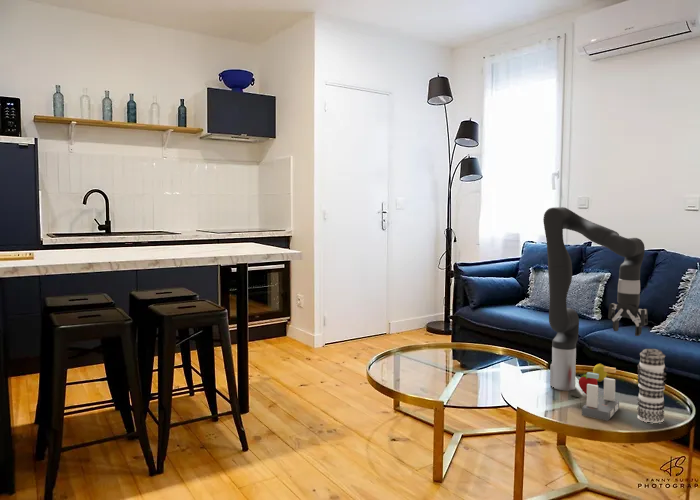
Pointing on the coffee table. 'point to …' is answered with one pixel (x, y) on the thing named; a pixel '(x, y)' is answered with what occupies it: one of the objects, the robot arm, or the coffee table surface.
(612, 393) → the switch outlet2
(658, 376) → the patterned cylindrical tower
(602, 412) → the power strip
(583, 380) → the strawberry
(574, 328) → the robot arm
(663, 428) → the coffee table surface
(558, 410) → the coffee table surface
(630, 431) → the coffee table surface
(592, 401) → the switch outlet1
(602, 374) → the lemon
